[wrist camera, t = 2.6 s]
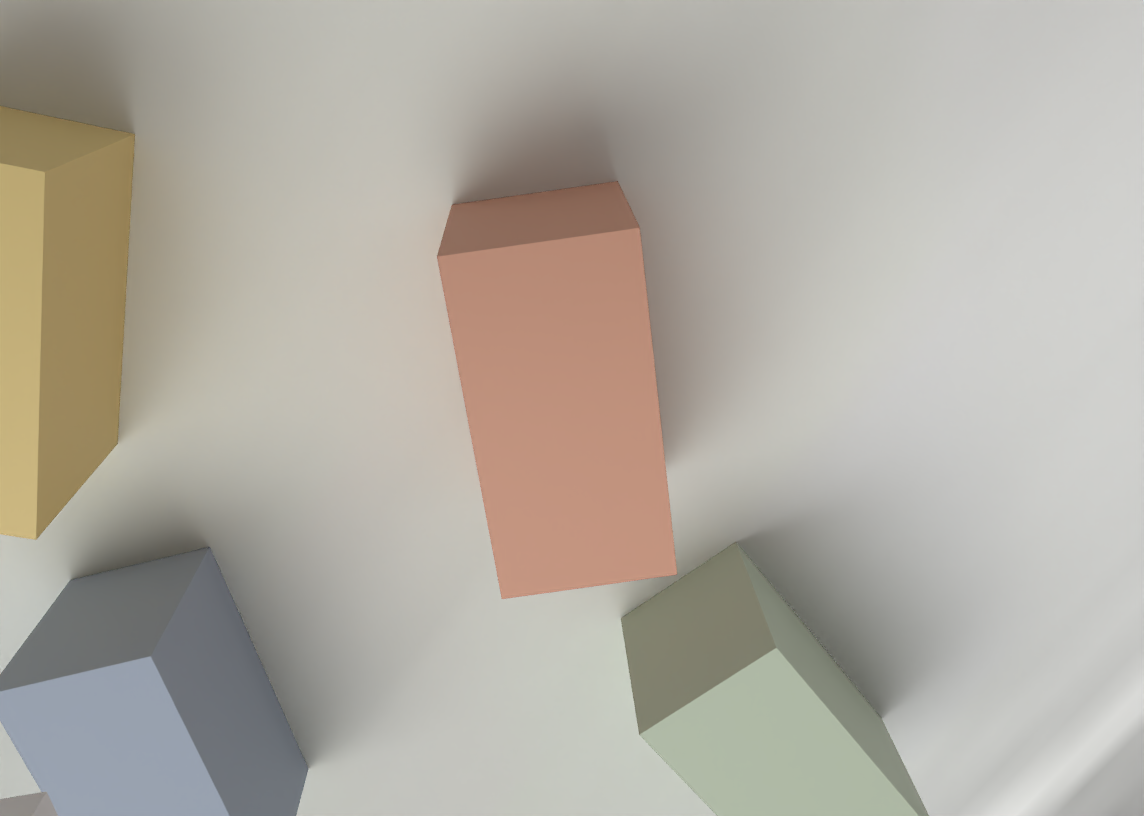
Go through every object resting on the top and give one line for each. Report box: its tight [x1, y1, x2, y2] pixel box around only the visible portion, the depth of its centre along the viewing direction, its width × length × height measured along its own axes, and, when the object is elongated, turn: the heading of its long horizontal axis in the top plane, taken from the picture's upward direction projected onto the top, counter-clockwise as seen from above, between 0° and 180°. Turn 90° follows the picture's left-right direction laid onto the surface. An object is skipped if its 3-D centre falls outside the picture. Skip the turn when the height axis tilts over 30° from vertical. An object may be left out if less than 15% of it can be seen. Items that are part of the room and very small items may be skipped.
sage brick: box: [621, 542, 929, 816], centre depth 28 cm, size 8×4×5 cm, turn 37°
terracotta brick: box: [437, 181, 677, 599], centre depth 24 cm, size 8×4×5 cm, turn 8°
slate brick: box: [0, 547, 308, 816], centre depth 27 cm, size 8×4×5 cm, turn 14°
